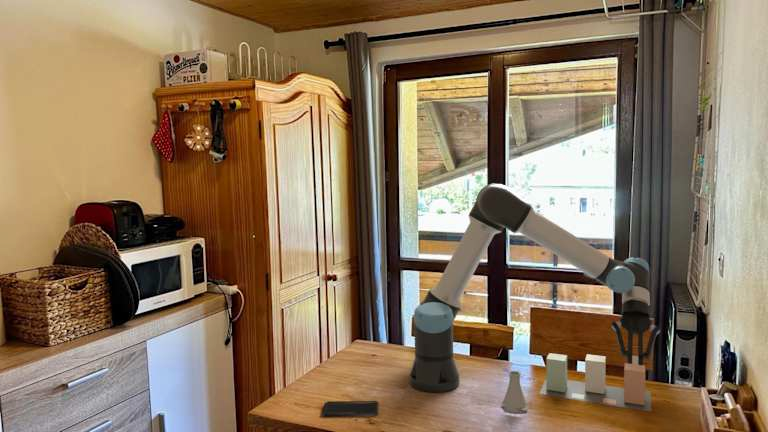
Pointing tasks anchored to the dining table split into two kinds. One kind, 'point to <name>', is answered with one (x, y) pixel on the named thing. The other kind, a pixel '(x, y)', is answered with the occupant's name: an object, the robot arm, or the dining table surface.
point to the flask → (514, 395)
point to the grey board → (597, 395)
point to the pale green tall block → (556, 372)
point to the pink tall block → (634, 384)
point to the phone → (350, 409)
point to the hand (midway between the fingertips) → (635, 379)
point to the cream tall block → (595, 373)
